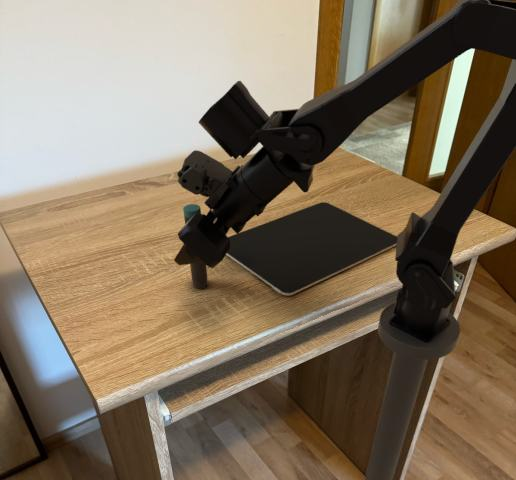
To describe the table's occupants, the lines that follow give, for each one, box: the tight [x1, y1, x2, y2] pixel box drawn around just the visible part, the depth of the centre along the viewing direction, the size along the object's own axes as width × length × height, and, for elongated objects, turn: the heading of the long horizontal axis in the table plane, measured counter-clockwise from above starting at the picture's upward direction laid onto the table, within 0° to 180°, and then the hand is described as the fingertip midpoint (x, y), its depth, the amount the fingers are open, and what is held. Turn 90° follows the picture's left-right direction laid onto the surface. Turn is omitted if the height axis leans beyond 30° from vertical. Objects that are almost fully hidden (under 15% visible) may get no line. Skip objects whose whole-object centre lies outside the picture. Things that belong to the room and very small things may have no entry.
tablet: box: [225, 202, 398, 297], centre depth 85 cm, size 27×1×20 cm
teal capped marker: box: [183, 203, 209, 290], centre depth 72 cm, size 2×2×13 cm
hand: (187, 247), depth 73 cm, fingers open, 8 cm apart
